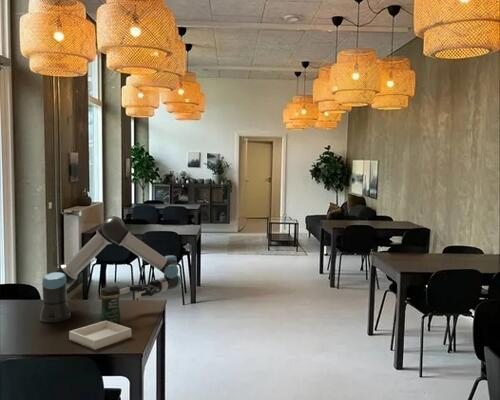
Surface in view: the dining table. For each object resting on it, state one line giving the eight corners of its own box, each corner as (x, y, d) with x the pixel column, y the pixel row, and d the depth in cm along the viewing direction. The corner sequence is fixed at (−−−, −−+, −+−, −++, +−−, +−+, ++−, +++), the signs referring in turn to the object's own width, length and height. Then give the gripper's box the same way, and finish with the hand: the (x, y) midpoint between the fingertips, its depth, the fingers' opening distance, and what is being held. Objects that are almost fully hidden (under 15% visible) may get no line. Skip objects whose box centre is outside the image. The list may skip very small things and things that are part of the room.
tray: (69, 339, 217) (69, 331, 217) (106, 328, 233) (105, 320, 233) (94, 349, 205) (94, 340, 205) (131, 337, 221) (131, 328, 221)
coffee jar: (104, 326, 236) (103, 290, 235) (98, 322, 242) (98, 286, 241) (122, 322, 242) (122, 287, 241) (116, 318, 248) (116, 284, 247)
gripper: (173, 295, 259) (142, 304, 242) (143, 289, 274) (113, 297, 258) (172, 282, 259) (142, 290, 242) (143, 276, 274) (113, 283, 257)
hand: (127, 294), depth 250 cm, fingers open, 13 cm apart
